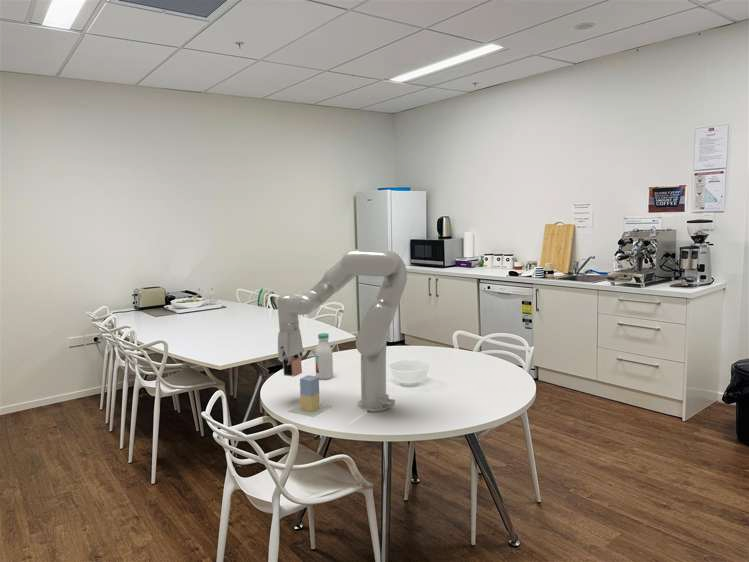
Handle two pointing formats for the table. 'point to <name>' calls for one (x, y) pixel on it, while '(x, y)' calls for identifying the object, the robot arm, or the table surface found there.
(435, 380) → the table surface
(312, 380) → the brick
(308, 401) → the brick base
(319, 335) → the milk bottle
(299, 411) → the build plate
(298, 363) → the brick
